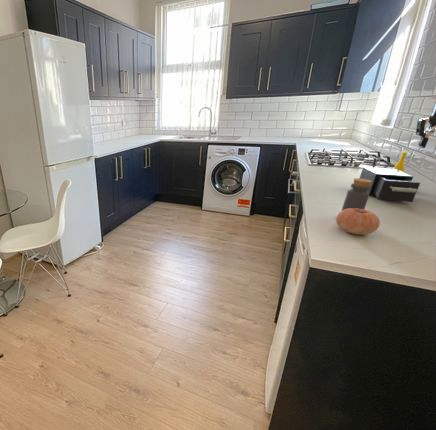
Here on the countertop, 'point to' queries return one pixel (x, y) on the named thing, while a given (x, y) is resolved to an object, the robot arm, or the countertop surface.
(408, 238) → the countertop surface
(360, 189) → the bottle
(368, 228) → the orange pumpkin
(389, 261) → the countertop surface
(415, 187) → the drawer
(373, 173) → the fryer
